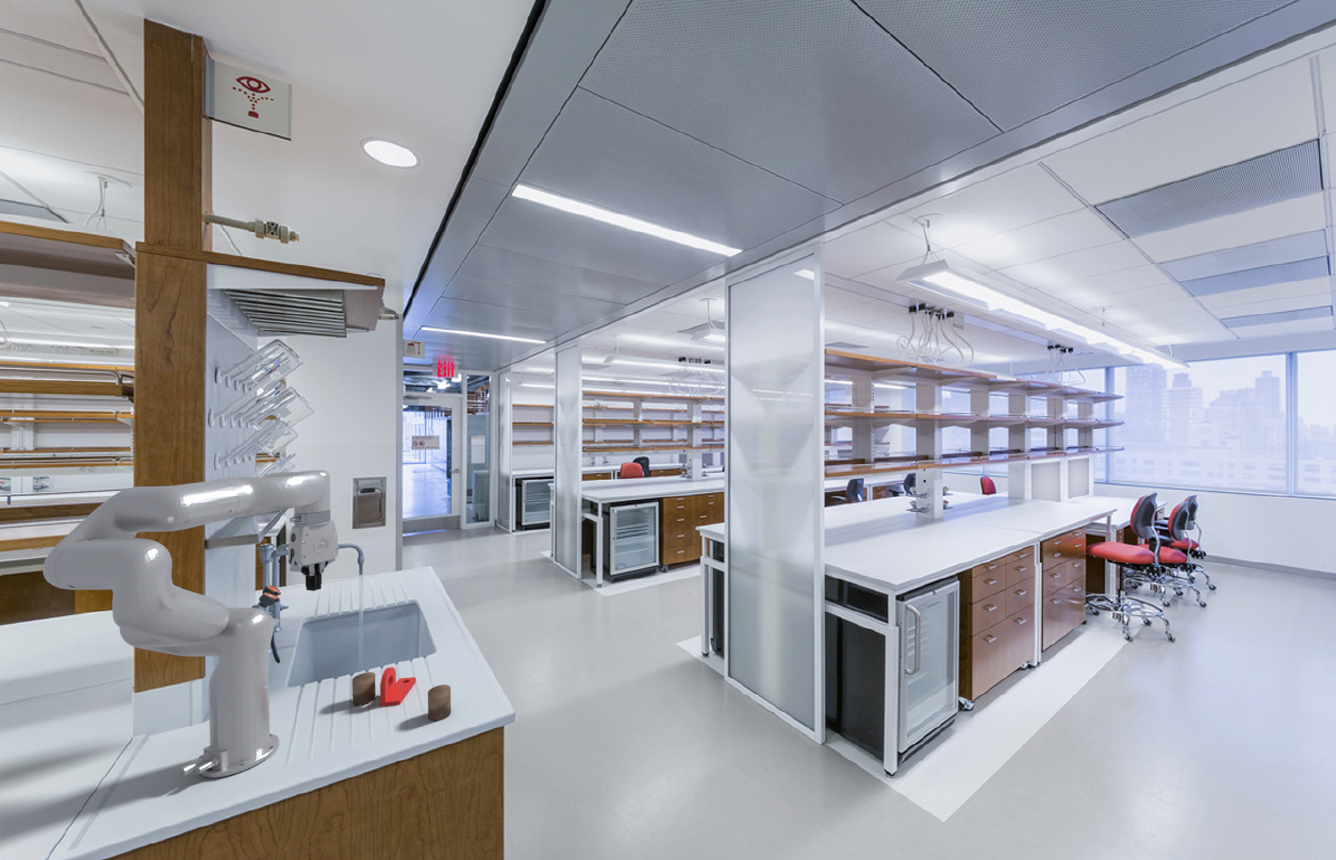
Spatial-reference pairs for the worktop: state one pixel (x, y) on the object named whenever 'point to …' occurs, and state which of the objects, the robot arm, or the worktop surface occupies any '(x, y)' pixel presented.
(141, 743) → the worktop surface
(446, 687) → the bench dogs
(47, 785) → the worktop surface
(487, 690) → the worktop surface
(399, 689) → the bracket
